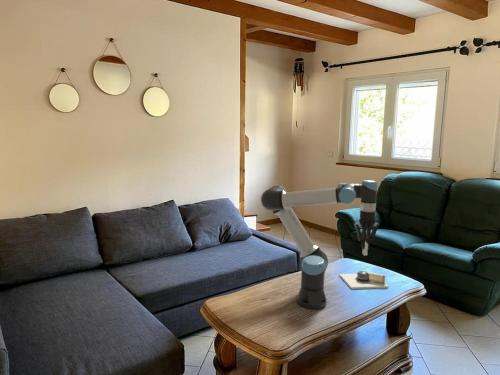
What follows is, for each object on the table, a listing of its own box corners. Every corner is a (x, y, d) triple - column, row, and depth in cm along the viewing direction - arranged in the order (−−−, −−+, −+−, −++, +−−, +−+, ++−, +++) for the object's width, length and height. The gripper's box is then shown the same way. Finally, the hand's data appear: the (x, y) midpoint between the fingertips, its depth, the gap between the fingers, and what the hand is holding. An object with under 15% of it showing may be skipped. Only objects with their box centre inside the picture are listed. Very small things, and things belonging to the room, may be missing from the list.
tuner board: (351, 289, 204) (351, 286, 204) (339, 275, 223) (339, 273, 223) (389, 287, 207) (389, 285, 207) (374, 274, 226) (374, 272, 225)
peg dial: (356, 280, 213) (356, 272, 212) (357, 275, 219) (358, 268, 219) (384, 285, 207) (384, 277, 206) (385, 280, 213) (385, 273, 212)
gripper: (358, 212, 181) (355, 257, 185) (383, 212, 183) (379, 256, 186) (352, 209, 189) (349, 252, 192) (376, 208, 190) (373, 252, 194)
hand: (364, 254), depth 189 cm, fingers closed
